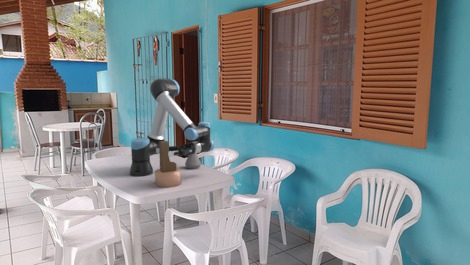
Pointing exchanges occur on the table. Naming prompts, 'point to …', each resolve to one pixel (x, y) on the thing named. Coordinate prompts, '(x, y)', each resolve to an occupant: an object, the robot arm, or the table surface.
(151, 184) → the table surface
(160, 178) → the peach disc
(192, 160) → the coffee pot
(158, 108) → the robot arm
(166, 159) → the wooden block
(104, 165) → the table surface
